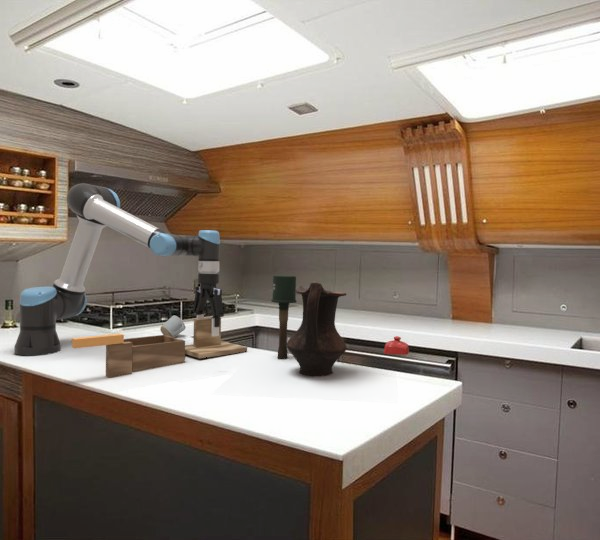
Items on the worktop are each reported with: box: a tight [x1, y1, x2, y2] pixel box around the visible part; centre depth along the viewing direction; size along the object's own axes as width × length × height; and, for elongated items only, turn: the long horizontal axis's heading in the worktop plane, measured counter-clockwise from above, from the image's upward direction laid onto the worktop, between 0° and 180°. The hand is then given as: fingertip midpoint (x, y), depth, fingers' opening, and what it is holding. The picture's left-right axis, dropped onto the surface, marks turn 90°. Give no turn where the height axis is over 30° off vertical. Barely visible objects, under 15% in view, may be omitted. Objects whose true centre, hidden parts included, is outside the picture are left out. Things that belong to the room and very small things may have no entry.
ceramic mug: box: [160, 315, 187, 338], centre depth 210 cm, size 11×8×8 cm
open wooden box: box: [105, 334, 186, 379], centre depth 161 cm, size 16×26×10 cm, turn 133°
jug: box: [287, 281, 347, 378], centre depth 151 cm, size 21×18×30 cm
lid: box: [185, 317, 248, 359], centre depth 180 cm, size 16×20×12 cm
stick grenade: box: [270, 274, 297, 360], centre depth 171 cm, size 8×9×30 cm
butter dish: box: [383, 335, 410, 356], centre depth 183 cm, size 12×12×8 cm
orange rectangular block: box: [71, 333, 125, 349], centre depth 145 cm, size 2×14×2 cm, turn 133°
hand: (207, 334), depth 183 cm, fingers open, 9 cm apart
